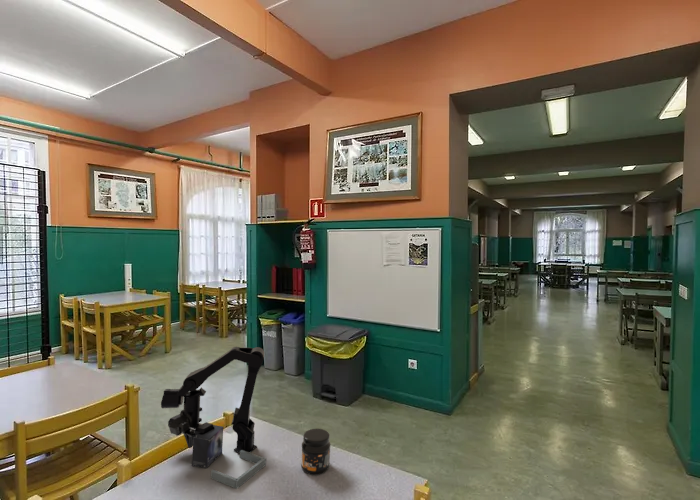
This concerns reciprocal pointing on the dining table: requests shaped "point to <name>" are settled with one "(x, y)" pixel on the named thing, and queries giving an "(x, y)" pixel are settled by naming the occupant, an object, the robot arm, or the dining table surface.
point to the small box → (207, 447)
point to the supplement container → (315, 451)
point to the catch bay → (245, 476)
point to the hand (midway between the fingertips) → (190, 447)
